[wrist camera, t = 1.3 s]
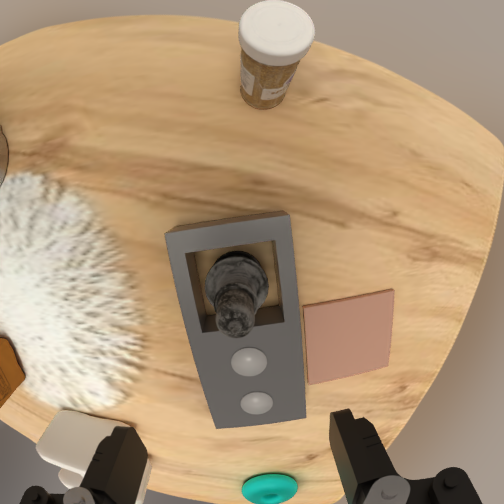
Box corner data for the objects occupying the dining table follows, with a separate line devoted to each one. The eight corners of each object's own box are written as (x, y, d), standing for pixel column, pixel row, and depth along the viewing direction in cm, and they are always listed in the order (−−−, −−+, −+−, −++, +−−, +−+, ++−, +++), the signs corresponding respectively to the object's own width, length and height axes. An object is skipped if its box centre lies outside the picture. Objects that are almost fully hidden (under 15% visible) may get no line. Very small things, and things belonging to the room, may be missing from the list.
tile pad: (302, 305, 31) (303, 308, 31) (392, 288, 31) (394, 290, 31) (307, 382, 34) (308, 385, 33) (386, 363, 34) (388, 366, 33)
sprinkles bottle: (280, 114, 26) (311, 63, 13) (235, 105, 26) (230, 46, 13) (288, 75, 25) (321, 7, 12) (244, 66, 25) (247, -8, 12)
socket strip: (174, 226, 29) (163, 234, 25) (283, 210, 29) (290, 215, 25) (217, 407, 34) (216, 429, 30) (300, 397, 34) (306, 418, 30)
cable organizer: (141, 422, 35) (121, 481, 24) (155, 460, 38) (142, 512, 26) (61, 404, 35) (31, 450, 23) (80, 443, 37) (59, 487, 26)
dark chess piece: (256, 240, 29) (265, 279, 18) (272, 292, 31) (289, 355, 19) (200, 257, 30) (176, 305, 18) (219, 308, 31) (208, 376, 19)
